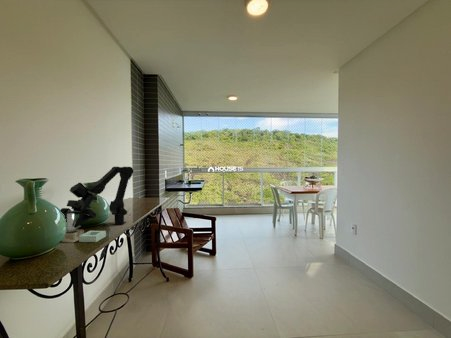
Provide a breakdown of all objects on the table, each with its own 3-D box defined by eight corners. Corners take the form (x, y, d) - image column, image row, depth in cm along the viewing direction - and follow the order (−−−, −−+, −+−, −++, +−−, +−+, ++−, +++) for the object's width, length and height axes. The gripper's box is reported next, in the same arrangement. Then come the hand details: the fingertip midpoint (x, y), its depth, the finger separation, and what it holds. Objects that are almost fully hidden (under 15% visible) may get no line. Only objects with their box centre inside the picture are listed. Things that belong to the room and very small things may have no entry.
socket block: (90, 236, 123) (90, 230, 123) (105, 236, 123) (105, 230, 123) (78, 241, 114) (78, 236, 114) (96, 242, 114) (95, 236, 114)
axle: (70, 238, 120) (70, 212, 119) (77, 238, 120) (76, 212, 119) (65, 240, 116) (65, 214, 116) (72, 240, 116) (71, 214, 116)
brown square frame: (69, 236, 122) (69, 229, 122) (83, 236, 122) (83, 229, 122) (58, 242, 114) (58, 234, 114) (73, 242, 114) (73, 234, 114)
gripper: (62, 193, 123) (43, 218, 112) (91, 194, 120) (75, 219, 109) (74, 205, 131) (57, 229, 120) (102, 206, 128) (87, 230, 117)
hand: (69, 227), depth 116 cm, fingers open, 6 cm apart
